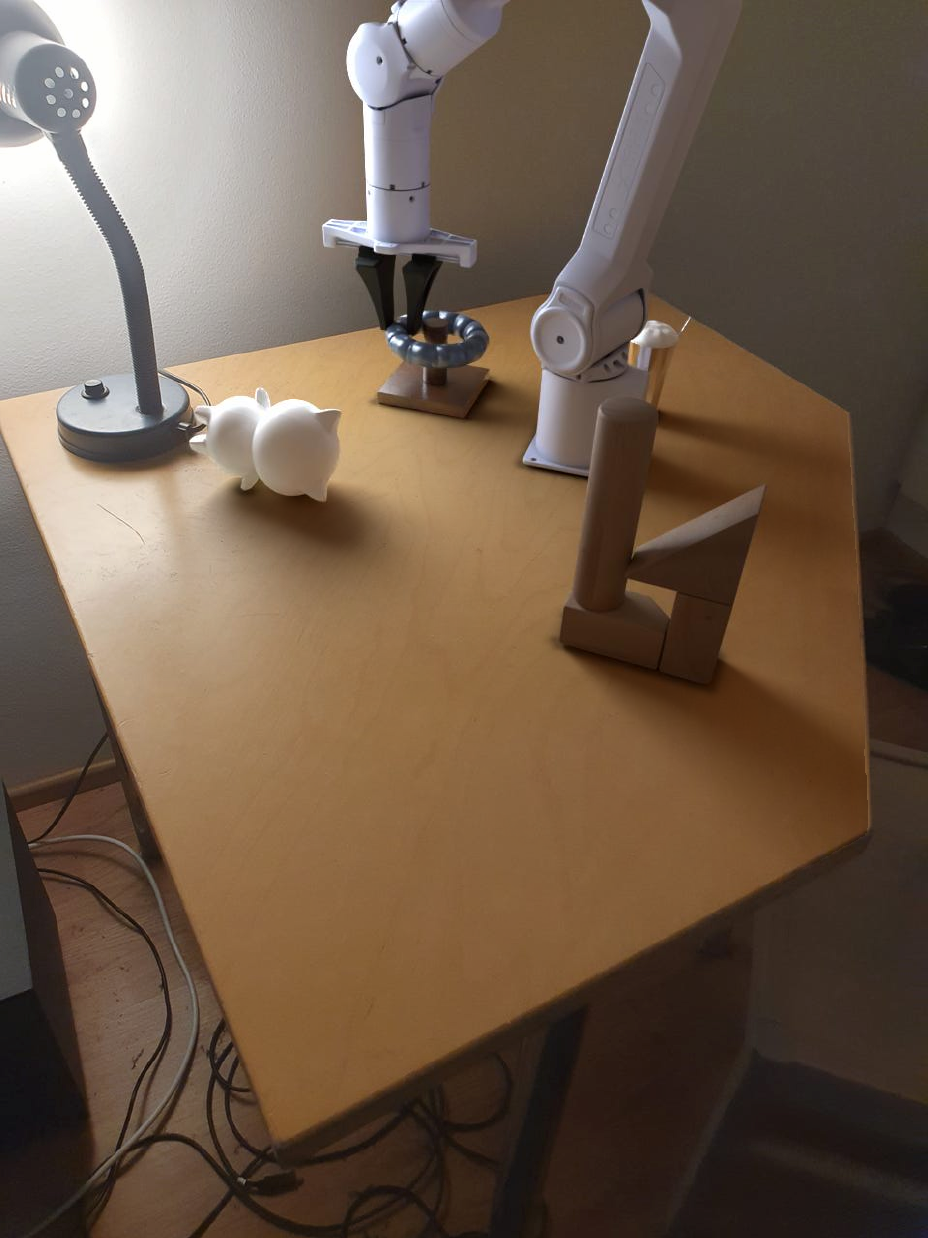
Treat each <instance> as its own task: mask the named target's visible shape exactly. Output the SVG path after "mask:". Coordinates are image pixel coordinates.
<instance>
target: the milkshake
mask: <svg viewBox="0 0 928 1238" xmlns="http://www.w3.org/2000/svg"><path fill="white" fill-rule="evenodd" d="M690 319H691V315H688V317H687V319H686V320H685V322H684V323H683V325H682V326H681V327H680V329H679V331H678V332H676V330H675V329H674V328H673V327H672V326H671V325H670V324H666V323H664V322H661V321H659V320H647V322H646V325H645V327H644V329H643V330H642V332H641V333H640V334H639V335H638V336H637V337H636V338H635V339H633V340H631V341H629V342H630V347H629V353H628V363H629V364H630V365H632V366H634V367H636V368H639V369H642V370H646V371H648V372H650V380H649V387H648V393H647V398H646V401H647V402H649V403H651V404H652V405H653V406H654V407H655V408H656V409H657V410H658V408H659V406H660V402H661V398H662V394H663V390H664V387H665V383H666V379H667V375H668V372H669V369H670V366H671V364H672V360H673V357H674V353H675V350H676V347H677V343H678V341H679V336H680V335H681V333H682V332H683V330H684V329H685V327H687V324H688V323H689V321H690Z"/></svg>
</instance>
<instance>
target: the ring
mask: <svg viewBox="0 0 928 1238" xmlns="http://www.w3.org/2000/svg"><path fill="white" fill-rule="evenodd" d="M429 318H441V319H444V320H446V321H447V322H448V336H453V337H456V338H458V339H461V341H458V342H456V343H448V344H439V345H436V344H430V343H424V342H423V341H419V340H417V339H415V338H413V337H417V336H419V335H423V324H424V321H425V320H426V319H429ZM384 338H385V339H384V340H385V341H386V345H387V346H388V347H387V348H388V349H389V351H390V353H391V354H392V355H393V356H394V357H397V358H398V359H400V360H401V361H406V362H407V363H409V364H412V365H417V366H422V367H428V368H433V369H442V368H458V367H462V366H465V365H469V364H472V363H475V362H478V361H480V360H481V359H482V357H483V356H484V355H485V353H486V352H487V350H488V348H489V347H490V343H491V339H490V336H489V334H488V332H487V330H486V329H485V327H484V326H483V324H482V323H481V322H479V321H478V320H476V319H473V318H472V317H469V316H468V315H465V314H463V313H459V312H452V311H446V310H440V309H437V310H434V309H433V310H424V312H423V317H422V323H421V329H420V330H419V331H418V332H417V333H416V334H415V335H408V334H407V314H404V315H401V316H398V317H396V318H394V322H393V323H392V324H391V325H390V326H389V327H388V329H387V330H386V331H385V333H384Z"/></svg>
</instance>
